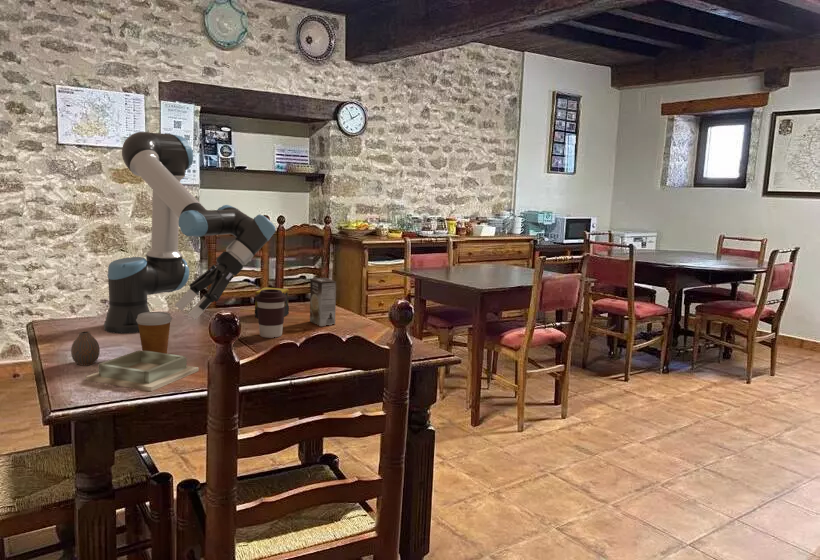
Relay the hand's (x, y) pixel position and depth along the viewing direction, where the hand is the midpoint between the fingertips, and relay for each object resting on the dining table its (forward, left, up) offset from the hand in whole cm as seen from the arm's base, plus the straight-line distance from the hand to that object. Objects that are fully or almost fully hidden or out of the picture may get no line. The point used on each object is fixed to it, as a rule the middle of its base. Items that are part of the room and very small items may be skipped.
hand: (184, 312), depth 184 cm
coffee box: (+18, +53, -12) cm, 57 cm away
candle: (-4, +55, -12) cm, 56 cm away
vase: (-17, -20, -12) cm, 29 cm away
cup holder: (+4, -22, -12) cm, 25 cm away
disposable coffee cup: (-6, -6, -12) cm, 15 cm away
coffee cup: (+11, +29, -12) cm, 33 cm away
